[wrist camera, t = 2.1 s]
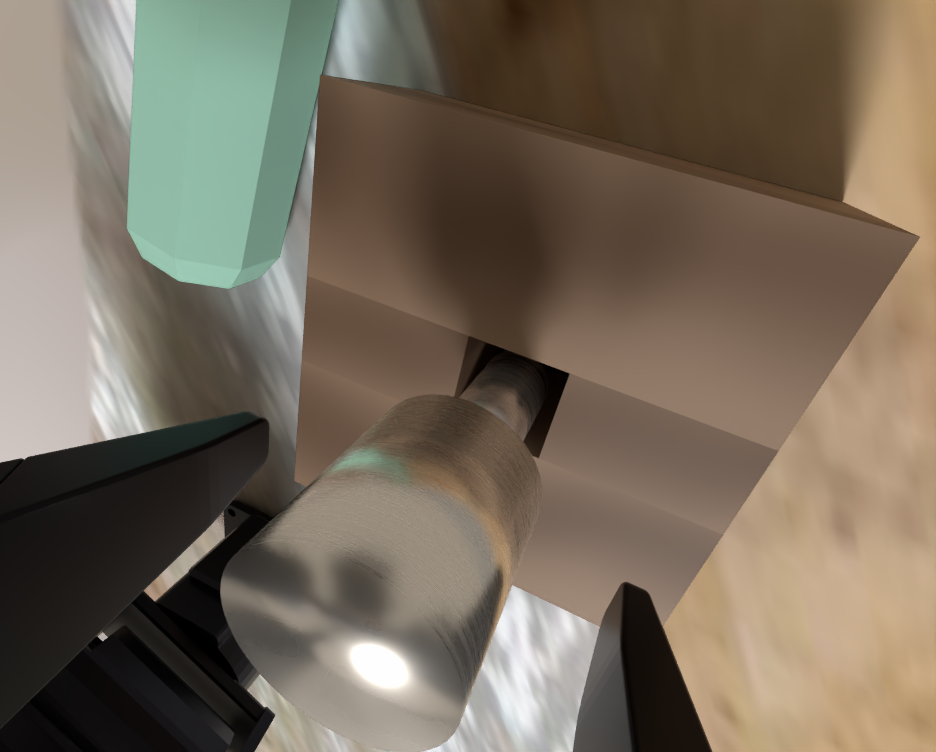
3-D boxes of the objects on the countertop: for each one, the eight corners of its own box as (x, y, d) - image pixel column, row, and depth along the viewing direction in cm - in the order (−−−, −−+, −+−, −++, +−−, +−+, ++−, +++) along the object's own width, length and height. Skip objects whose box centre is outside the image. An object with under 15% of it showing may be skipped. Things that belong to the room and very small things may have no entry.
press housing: (655, 533, 19) (647, 649, 15) (371, 412, 21) (293, 480, 17) (843, 202, 13) (920, 236, 9) (419, 89, 16) (320, 74, 11)
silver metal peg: (559, 459, 14) (432, 790, 7) (442, 411, 15) (223, 666, 8) (603, 346, 13) (494, 635, 5) (469, 299, 13) (217, 496, 6)
